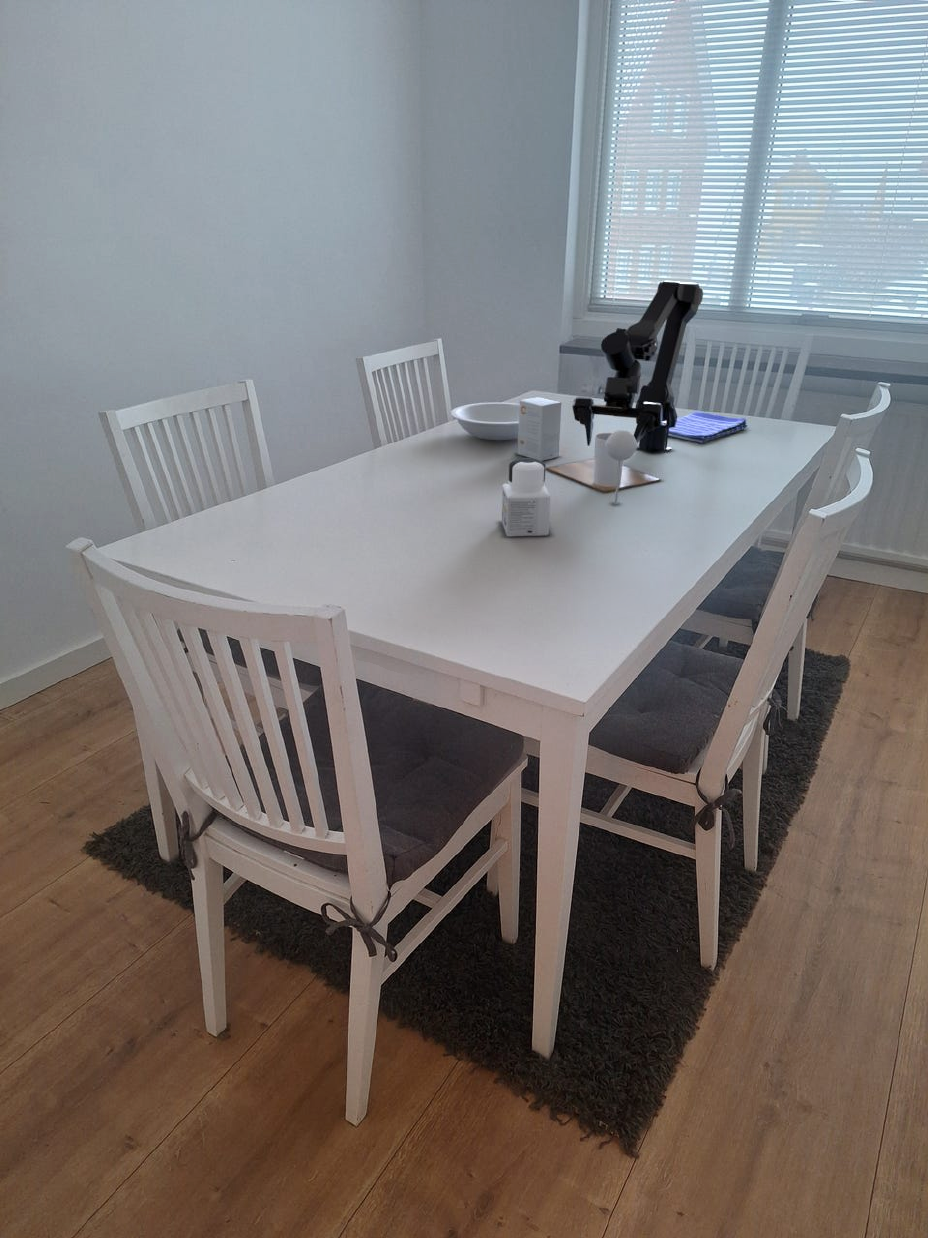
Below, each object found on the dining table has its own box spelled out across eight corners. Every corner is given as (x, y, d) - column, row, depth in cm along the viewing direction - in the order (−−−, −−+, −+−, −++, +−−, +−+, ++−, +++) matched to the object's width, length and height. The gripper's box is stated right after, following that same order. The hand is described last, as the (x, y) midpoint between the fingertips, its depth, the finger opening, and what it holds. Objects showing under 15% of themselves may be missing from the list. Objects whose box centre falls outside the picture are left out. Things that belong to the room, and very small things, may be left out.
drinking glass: (626, 480, 177) (630, 435, 172) (617, 489, 171) (621, 442, 167) (596, 476, 179) (600, 431, 175) (587, 484, 174) (590, 438, 169)
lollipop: (633, 501, 165) (640, 428, 159) (628, 510, 160) (636, 435, 154) (603, 498, 167) (609, 425, 160) (597, 507, 162) (603, 432, 155)
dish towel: (748, 428, 221) (750, 418, 219) (703, 444, 206) (704, 433, 204) (693, 418, 232) (694, 408, 230) (645, 432, 217) (647, 421, 215)
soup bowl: (485, 422, 225) (485, 398, 222) (560, 435, 213) (562, 410, 210) (432, 440, 208) (431, 414, 205) (511, 455, 195) (511, 428, 192)
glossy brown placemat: (600, 459, 193) (600, 457, 193) (660, 480, 178) (660, 479, 178) (546, 469, 186) (546, 467, 185) (604, 492, 170) (604, 490, 170)
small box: (559, 457, 195) (562, 402, 189) (540, 461, 191) (542, 405, 185) (535, 450, 200) (538, 396, 194) (516, 454, 196) (518, 399, 191)
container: (501, 522, 154) (503, 455, 148) (541, 521, 155) (545, 454, 149) (506, 537, 147) (508, 467, 141) (548, 536, 148) (552, 466, 142)
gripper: (577, 357, 171) (561, 422, 167) (667, 363, 166) (653, 430, 161) (582, 388, 181) (568, 450, 177) (667, 395, 176) (654, 458, 172)
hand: (609, 446), depth 172 cm, fingers open, 9 cm apart
